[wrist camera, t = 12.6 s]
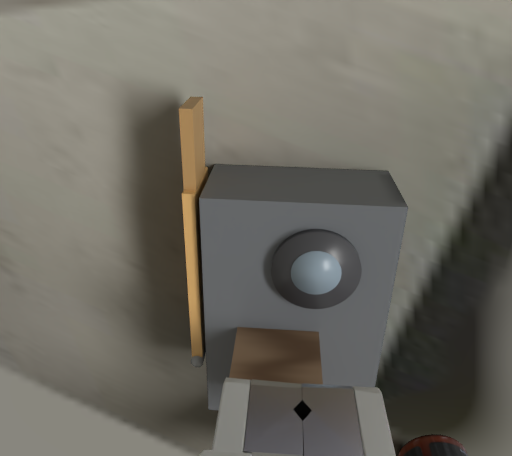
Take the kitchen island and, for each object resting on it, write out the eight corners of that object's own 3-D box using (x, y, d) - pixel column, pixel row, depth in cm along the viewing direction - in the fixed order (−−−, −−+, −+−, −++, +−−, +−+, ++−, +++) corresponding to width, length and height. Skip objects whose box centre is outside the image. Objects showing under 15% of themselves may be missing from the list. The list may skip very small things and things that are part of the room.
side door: (214, 321, 35) (203, 367, 30) (203, 320, 35) (191, 366, 30) (206, 93, 27) (190, 112, 23) (193, 92, 27) (174, 111, 23)
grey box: (358, 362, 36) (369, 428, 31) (219, 354, 37) (207, 416, 31) (388, 171, 29) (410, 212, 23) (214, 164, 29) (197, 202, 24)
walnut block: (318, 331, 28) (323, 395, 23) (312, 390, 30) (316, 459, 26) (237, 326, 28) (227, 389, 24) (237, 385, 30) (228, 452, 26)
